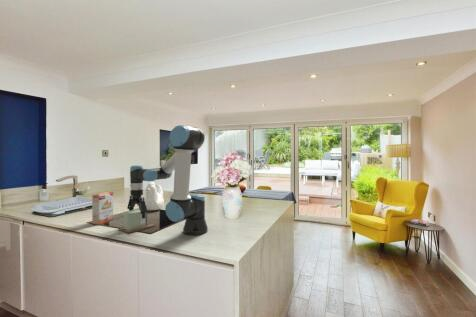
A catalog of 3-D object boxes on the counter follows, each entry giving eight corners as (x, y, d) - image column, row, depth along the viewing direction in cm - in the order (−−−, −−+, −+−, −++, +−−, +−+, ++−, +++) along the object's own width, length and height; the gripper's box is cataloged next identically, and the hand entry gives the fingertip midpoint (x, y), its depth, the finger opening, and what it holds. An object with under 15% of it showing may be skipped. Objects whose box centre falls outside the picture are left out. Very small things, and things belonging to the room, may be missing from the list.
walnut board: (155, 226, 161) (155, 224, 161) (129, 233, 147) (128, 232, 147) (144, 223, 169) (144, 221, 169) (118, 229, 155) (118, 228, 155)
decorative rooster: (154, 213, 197) (154, 183, 196) (139, 211, 203) (138, 182, 202) (172, 206, 220) (172, 179, 220) (158, 205, 226) (158, 179, 225)
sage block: (123, 212, 154) (142, 209, 164) (123, 228, 154) (142, 223, 164) (128, 214, 150) (147, 210, 160) (128, 230, 150) (147, 225, 160)
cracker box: (99, 225, 165) (99, 194, 165) (92, 224, 166) (91, 194, 166) (113, 219, 179) (113, 191, 178) (106, 219, 180) (106, 191, 180)
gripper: (121, 188, 162) (122, 219, 163) (141, 191, 147) (142, 226, 147) (132, 186, 168) (132, 217, 168) (152, 190, 153) (153, 223, 153)
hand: (137, 221), depth 158 cm, fingers open, 13 cm apart
